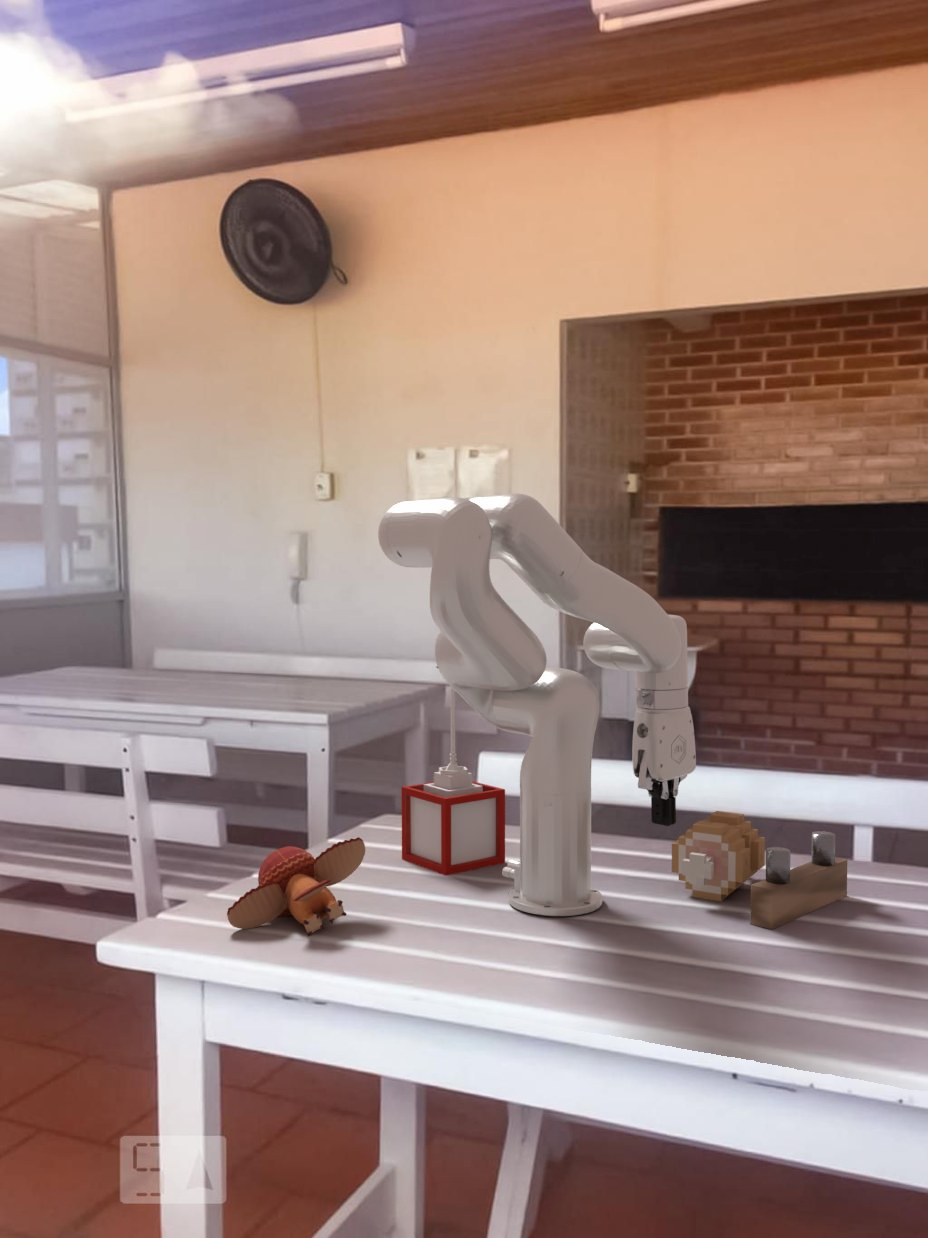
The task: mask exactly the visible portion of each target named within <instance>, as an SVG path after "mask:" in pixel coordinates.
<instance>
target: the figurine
mask: <svg viewBox="0 0 928 1238" xmlns="http://www.w3.org/2000/svg"><path fill="white" fill-rule="evenodd" d="M365 854H366V844H365V842H364V840H363V839H362V838H361V837H359V836H358V837H356V838H350V839H344V840H343V841H338V842H337V843H333V844H332V846H330V847H327V848H326V849H325V851H322V852H320V854H319V855H318V856H316V857H314V856H313V855H312V854H311V853H310V852H308V851H307V850H305V849H303V848H300V847H297V846H291V845H289V846H284V847H281V848H279V849H276V850H274V851H272V852H271V853H269V854H268V855H267V856H266V857H265V858H264V860H263V861H262V863H261V865H260V868H259V871H258V875H257V876H258V877H257V881H258V885H257V887H256V888H251V889H250V890H249V891H246V892H245V893H244V894H243V895H242V896H240V897H239V899H238V900H236V901H234V902H233V904H232V906H230V907H228V908H227V911H226V912H227V913H226V916H227V920H228V921H229V922H228V923H229V924H230V925H231V926H232V927H233V928H237V929H241V930H242V929H243V930H249V929H253V928H254V929H255V928H258V927H261V926H263V925H265V924H268V923H269V922H272V921H274V920H275V919H276V918H277V917H278V916H280V917H285V916H286V917H287V916H291V915H292V917H293V918H294V919H295V920H296V921H297V922H298V923H299V924H302V925H303V926H304V929H305V930H306V931H305V932H306V934H307V936H308V937H311V935H312V934H313V933H314V932H316V931H317V930H320V929H326V927H325V925H324V924H323V920H324V919H325V918H328V919H329V920H328V921H329V923H330V925H333V923H334V921H335V920H337V919H338V918H340V917H346V916H347V912H345V909H344V906H343V902H344V901H343V900H341V899H340V900H337V899H336V897H335V895H334V894H333V893H332V891H331V890H330V889H329V888H328V887H331V886H334V885H336V884H339V883H341V882H343V881H344V880H346V879H347V878H348V877H349V876H351V875H352V874H353V873H354V872H356V870H357V869H358V868H359V867H360V866H361V864H362V862H363V860H364V858H365Z"/></svg>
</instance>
